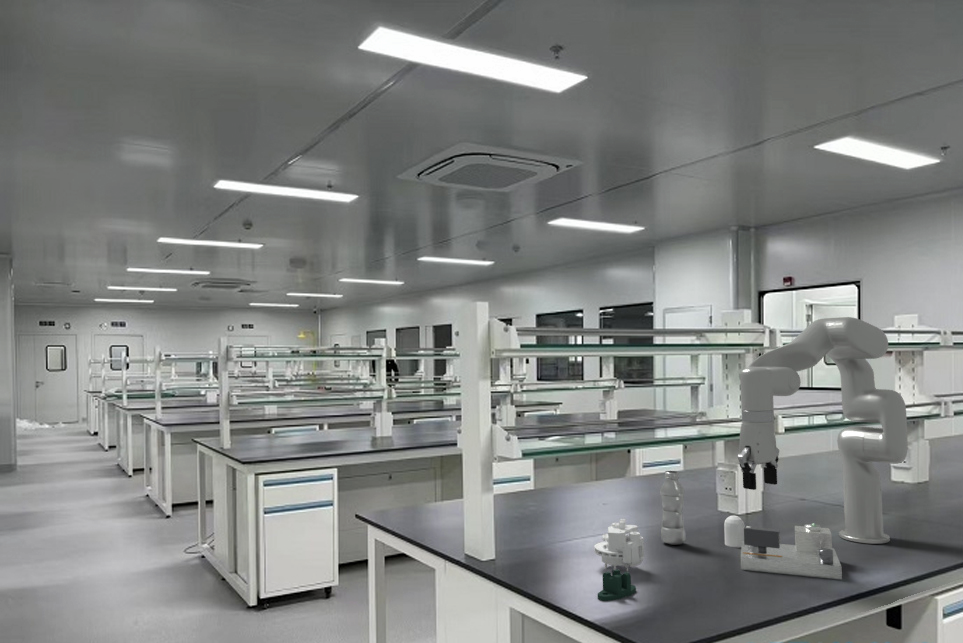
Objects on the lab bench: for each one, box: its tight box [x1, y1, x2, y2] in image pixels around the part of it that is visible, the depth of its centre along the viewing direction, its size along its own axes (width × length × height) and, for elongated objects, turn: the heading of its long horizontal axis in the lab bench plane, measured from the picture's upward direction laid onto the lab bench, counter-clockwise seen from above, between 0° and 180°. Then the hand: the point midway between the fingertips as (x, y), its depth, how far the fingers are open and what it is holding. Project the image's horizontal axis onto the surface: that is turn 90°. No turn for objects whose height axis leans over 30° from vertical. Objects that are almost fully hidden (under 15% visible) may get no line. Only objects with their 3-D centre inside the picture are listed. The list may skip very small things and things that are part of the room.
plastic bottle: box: [659, 470, 687, 546], centre depth 190 cm, size 6×7×20 cm
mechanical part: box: [593, 518, 645, 572], centre depth 167 cm, size 11×12×12 cm
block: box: [744, 525, 781, 554], centre depth 168 cm, size 8×3×6 cm, turn 62°
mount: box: [597, 568, 637, 602], centre depth 149 cm, size 11×4×5 cm, turn 126°
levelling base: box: [740, 522, 843, 580], centre depth 169 cm, size 16×22×10 cm
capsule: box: [723, 515, 746, 548], centre depth 188 cm, size 5×5×8 cm
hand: (760, 486), depth 169 cm, fingers open, 9 cm apart
